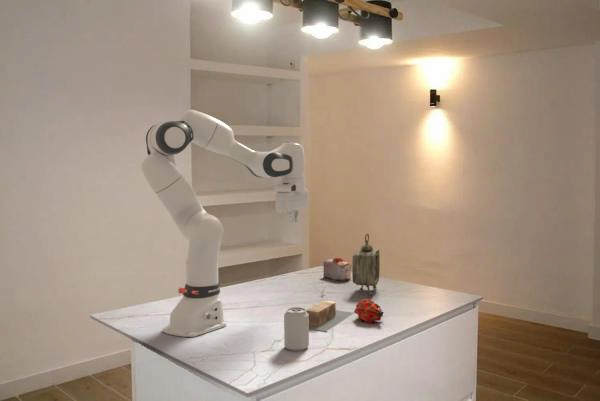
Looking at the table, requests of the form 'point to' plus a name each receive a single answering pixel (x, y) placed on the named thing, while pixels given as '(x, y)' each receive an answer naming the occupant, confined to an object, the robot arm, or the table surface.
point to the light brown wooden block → (321, 313)
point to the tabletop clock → (366, 266)
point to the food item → (337, 269)
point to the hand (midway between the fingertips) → (293, 222)
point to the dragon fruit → (368, 311)
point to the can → (296, 329)
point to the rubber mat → (331, 321)
